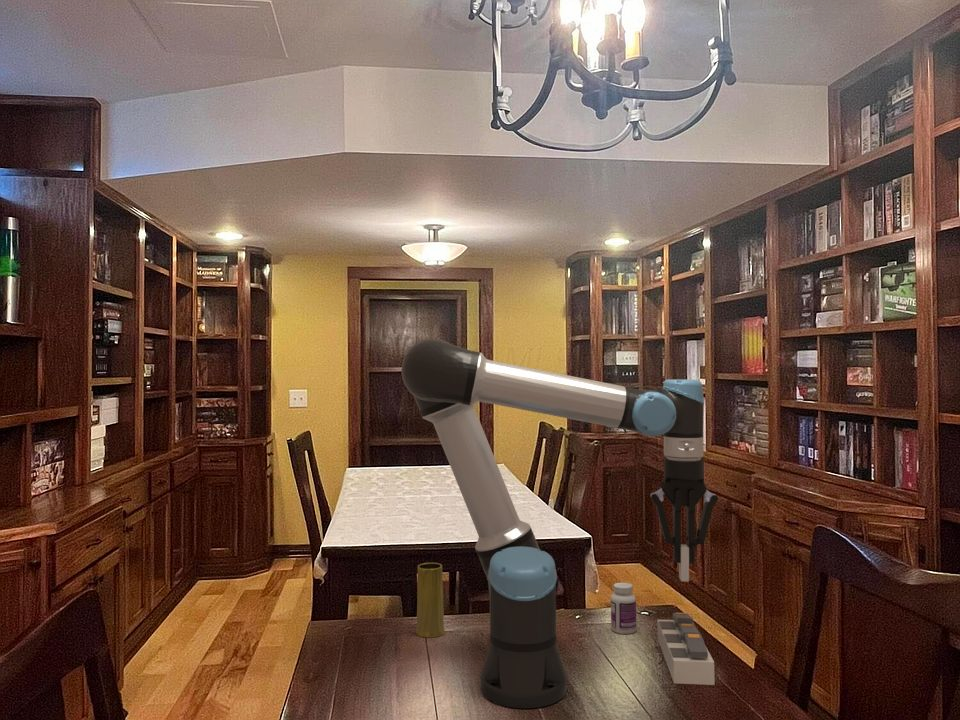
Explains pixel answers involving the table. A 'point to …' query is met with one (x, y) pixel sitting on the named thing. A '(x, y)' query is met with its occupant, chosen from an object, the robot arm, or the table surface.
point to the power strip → (683, 657)
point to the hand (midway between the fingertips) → (683, 579)
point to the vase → (430, 601)
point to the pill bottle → (623, 609)
